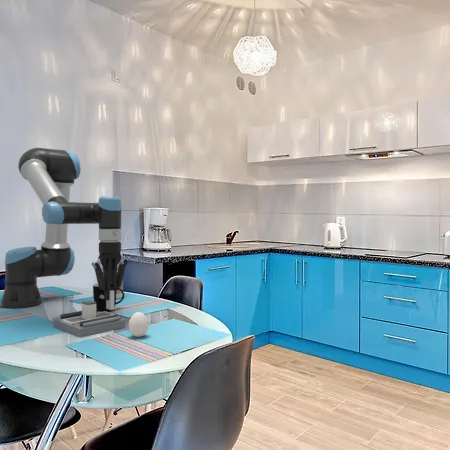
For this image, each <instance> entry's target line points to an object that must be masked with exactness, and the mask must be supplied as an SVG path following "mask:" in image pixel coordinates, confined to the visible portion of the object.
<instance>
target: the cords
mask: <svg viewBox="0 0 450 450" xmlns="http://www.w3.org/2000/svg"><path fill="white" fill-rule="evenodd" d="M97 312H98V310H97V308H96V313H97ZM77 316H82V310H79V311H73V312H69V313H68V312H65V313H63V314H62V313H61V314H60V315H59V318H61V319H66V318H71V317H77ZM120 319H122V318H121V316H119V315H118V314H117V313H116V314H115V315H111V316H106V317H101V318H96V319H91V320H86V321H80V323H79V325H80V327H81V326H83V327H88V326H92V325H97V324H102V323H107V322H112V321H116V320H120Z"/></svg>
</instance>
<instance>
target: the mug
mask: <svg viewBox="0 0 450 450" xmlns="http://www.w3.org/2000/svg"><path fill="white" fill-rule="evenodd" d="M110 290H111V289H110ZM118 290H120V291H121V292H122V298H120V300H118V301H116V300H117V299H114V308H115V307H116V305H118V304H120V303H122V302H123V301H124V298H125V292H124V289H123V290H122V289H120V288H118ZM92 293H93V294H92V295H93V301H94V302H96V308H97V310H98V312H104V311H106V312H109V313H110V312H112V311H113V310H109V309H106V300H105V299H104V290H102V289H99V286H98V282H97V283H94V284H93V285H92ZM116 294H117V290H116Z"/></svg>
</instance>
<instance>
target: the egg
mask: <svg viewBox="0 0 450 450" xmlns="http://www.w3.org/2000/svg"><path fill="white" fill-rule="evenodd" d="M149 325H150V324H149V320H148V318H147V316H146V314H145V313H143V312H141V311H137V312H134V313H133V314H132V315H131V317H130V318H129V321H128V330H129V332H130V334H131V335H132V336H133V337H135V338H141V337H143V336H144V335H145V334H147V332H148V331H149Z"/></svg>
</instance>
